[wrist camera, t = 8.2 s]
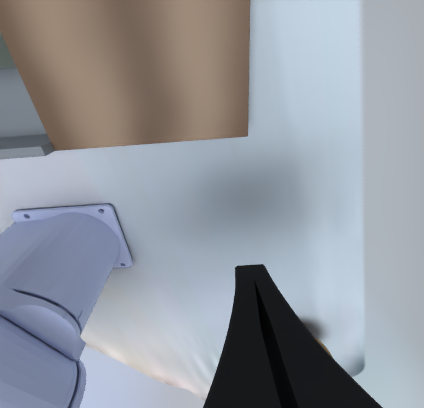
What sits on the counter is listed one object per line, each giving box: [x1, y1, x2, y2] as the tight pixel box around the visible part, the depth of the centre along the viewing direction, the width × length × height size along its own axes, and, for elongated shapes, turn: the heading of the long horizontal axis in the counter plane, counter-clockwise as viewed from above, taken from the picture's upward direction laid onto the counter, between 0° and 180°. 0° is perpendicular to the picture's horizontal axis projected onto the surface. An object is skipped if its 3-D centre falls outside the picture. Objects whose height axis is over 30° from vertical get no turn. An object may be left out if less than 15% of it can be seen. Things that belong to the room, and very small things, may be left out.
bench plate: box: [0, 0, 250, 151], centre depth 12 cm, size 13×14×3 cm
